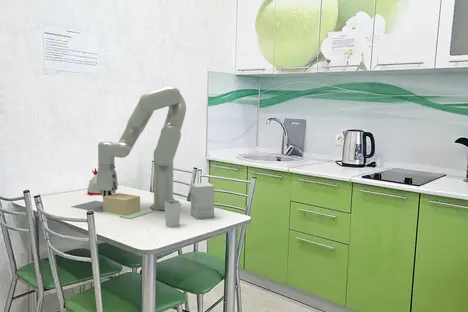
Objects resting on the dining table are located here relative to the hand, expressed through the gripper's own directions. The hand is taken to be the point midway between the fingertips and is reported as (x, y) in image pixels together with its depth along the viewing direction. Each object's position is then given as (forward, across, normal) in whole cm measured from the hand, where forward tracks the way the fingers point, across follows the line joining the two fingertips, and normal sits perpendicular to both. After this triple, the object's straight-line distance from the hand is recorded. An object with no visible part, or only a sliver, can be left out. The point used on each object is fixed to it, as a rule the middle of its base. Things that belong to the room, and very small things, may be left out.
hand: (106, 204), depth 199 cm
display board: (+2, -3, 0) cm, 4 cm away
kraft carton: (+2, -10, 0) cm, 10 cm away
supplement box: (+2, -46, -14) cm, 49 cm away
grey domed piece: (+3, +30, -24) cm, 38 cm away
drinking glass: (+2, -43, +5) cm, 44 cm away
